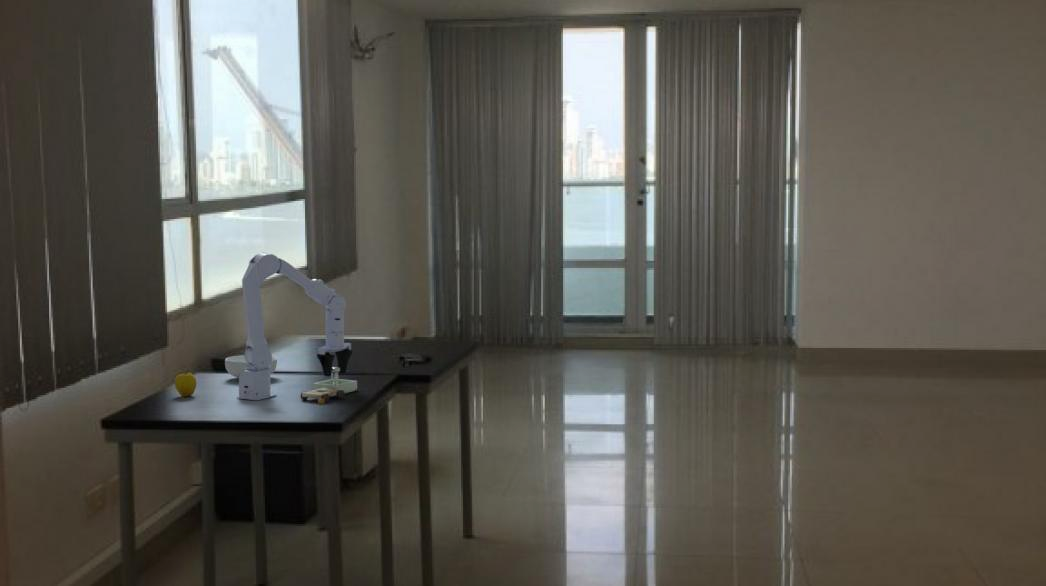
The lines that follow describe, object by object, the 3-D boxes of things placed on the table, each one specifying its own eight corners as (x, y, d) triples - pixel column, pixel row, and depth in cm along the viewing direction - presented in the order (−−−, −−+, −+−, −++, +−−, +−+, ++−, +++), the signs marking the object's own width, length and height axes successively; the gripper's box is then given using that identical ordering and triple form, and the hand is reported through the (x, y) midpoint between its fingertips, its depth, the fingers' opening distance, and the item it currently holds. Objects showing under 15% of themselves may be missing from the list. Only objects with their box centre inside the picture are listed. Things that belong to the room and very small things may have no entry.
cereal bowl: (230, 384, 384) (229, 362, 383) (221, 376, 399) (220, 356, 398) (282, 381, 391) (281, 360, 390) (271, 374, 406) (271, 353, 405)
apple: (196, 394, 365) (195, 368, 364) (197, 397, 359) (196, 371, 358) (174, 395, 363) (174, 369, 362) (175, 398, 357) (174, 372, 356)
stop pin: (335, 390, 369) (335, 368, 368) (327, 390, 371) (327, 368, 370) (342, 389, 372) (341, 367, 371) (334, 388, 373) (333, 366, 373)
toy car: (321, 403, 350) (321, 395, 350) (297, 401, 354) (297, 392, 354) (345, 397, 361) (345, 389, 360) (322, 395, 365) (322, 386, 364)
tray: (336, 395, 365) (336, 385, 364) (312, 392, 369) (312, 383, 368) (357, 390, 374) (357, 380, 374) (334, 387, 378) (334, 378, 378)
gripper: (331, 334, 362) (331, 378, 363) (358, 330, 374) (358, 372, 376) (312, 333, 365) (313, 376, 366) (340, 328, 378) (340, 370, 379)
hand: (335, 374), depth 371 cm, fingers open, 7 cm apart
